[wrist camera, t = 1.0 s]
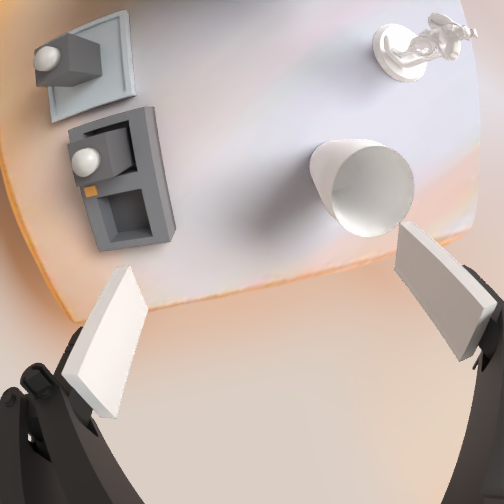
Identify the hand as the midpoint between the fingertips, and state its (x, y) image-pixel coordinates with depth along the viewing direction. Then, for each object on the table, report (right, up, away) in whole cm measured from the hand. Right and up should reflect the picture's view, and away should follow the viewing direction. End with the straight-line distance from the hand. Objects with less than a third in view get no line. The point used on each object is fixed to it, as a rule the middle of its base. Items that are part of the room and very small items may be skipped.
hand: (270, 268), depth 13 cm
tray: (-21, +24, +13) cm, 34 cm away
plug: (-21, +23, +12) cm, 34 cm away
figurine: (+19, +27, +14) cm, 36 cm away
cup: (+9, +12, +21) cm, 26 cm away
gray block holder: (-17, +10, +20) cm, 28 cm away
